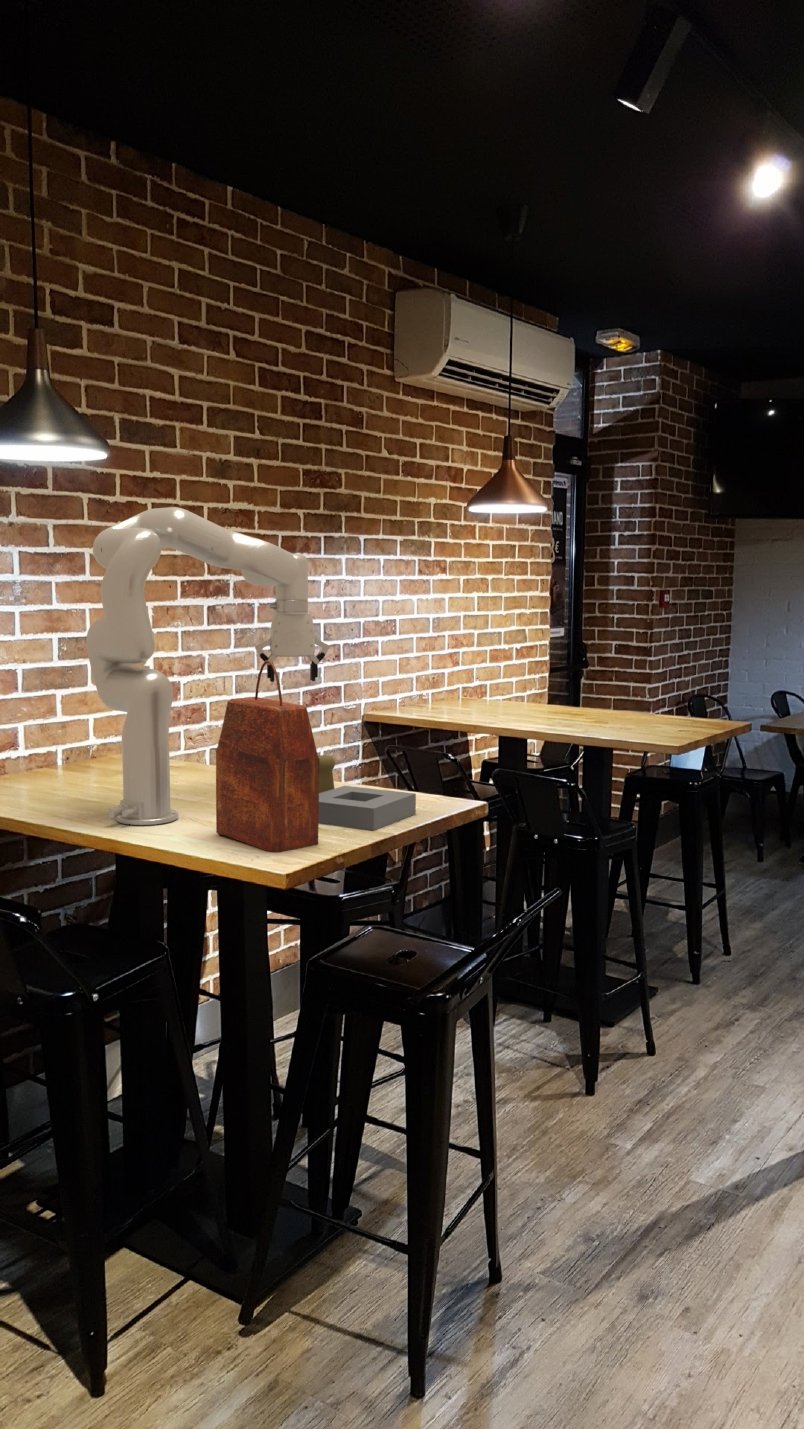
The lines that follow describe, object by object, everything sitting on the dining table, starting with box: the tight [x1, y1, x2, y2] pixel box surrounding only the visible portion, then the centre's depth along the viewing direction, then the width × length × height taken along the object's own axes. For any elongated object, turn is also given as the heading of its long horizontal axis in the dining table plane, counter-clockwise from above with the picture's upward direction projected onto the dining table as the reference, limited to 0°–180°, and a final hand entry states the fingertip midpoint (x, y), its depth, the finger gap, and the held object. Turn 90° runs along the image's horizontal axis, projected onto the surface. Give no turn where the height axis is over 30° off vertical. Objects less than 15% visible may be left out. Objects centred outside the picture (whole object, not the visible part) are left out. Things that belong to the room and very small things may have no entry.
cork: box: [318, 754, 336, 793], centre depth 237 cm, size 6×6×11 cm
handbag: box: [215, 660, 320, 853], centre depth 201 cm, size 10×19×35 cm, turn 43°
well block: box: [319, 785, 417, 831], centre depth 224 cm, size 18×18×4 cm
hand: (292, 681), depth 248 cm, fingers open, 9 cm apart
